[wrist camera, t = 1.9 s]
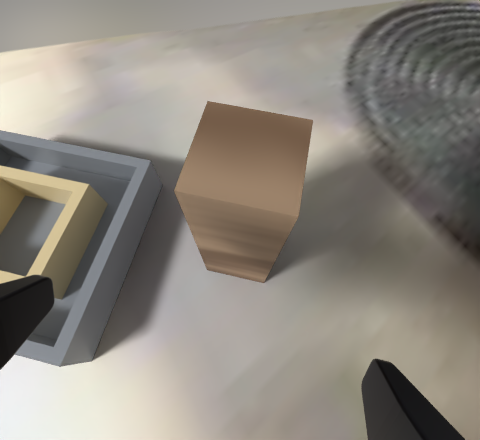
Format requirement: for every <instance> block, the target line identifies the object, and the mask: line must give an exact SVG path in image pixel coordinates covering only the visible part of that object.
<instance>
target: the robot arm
mask: <svg viewBox="0 0 480 440" xmlns="http://www.w3.org/2000/svg"><path fill="white" fill-rule="evenodd" d="M54 302H55V299H54V290H53V282H52V280H51V278H49V277H46V276H42V275H31V276H27V277H23V278H20V279H16V280H12V281H9V282H5V283H1V284H0V370H1V369H2V368H3V366H4V365H5V364H6V363H7V362H8V361H9V360H10V359H11V358H12V357H13V355H14V354H15V353H16V352H17V351H18V350H19V348H20V347H21V346H22V345H23V343H24V342H25V341H26V340H27V339H28V337H29V336H30V335H31V334H32V332H33V331H34V330H35V329H36V328H37V326H38V325H39V324H40V323H41V321H42V320H43V319H44V318H45V317H46V315H47V314H48V313H49V312H50V310H51V309H52V307H53V305H54ZM362 397H363V405H364V413H365V420H366V428H367V436H368V440H465V439H464V438H463V437H462V436H461V435H460V434H459V433H458V431H457V430H456V429H455V428H454V427H453V426H452V425H451V424H450V423H449V422H448V421H447V420H446V419H445V418H444V417H443V416H442V415H441V414H440V413H439V412H438V411H437V409H436V408H435V407H434V406H433V405H432V404H431V403H430V402H429V401H428V400H427V399H426V398H425V397H424V396H423V395H422V394H421V393H420V392H419V391H418V390H417V389H416V388H415V386H414V385H413V384H412V383H411V382H410V381H409V380H408V379H407V378H406V377H405V376H404V375H403V374H402V373H401V372H400V371H399V370H398V369H397V368H396V367H395V366H394V365H393V364H392V363H391V362H388V361H384V360H380V359H374V360H372V362H371V364H370V366H369V368H368V370H367V372H366V374H365V376H364V378H363V380H362Z"/></svg>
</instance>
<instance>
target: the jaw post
mask: <svg viewBox="0 0 480 440" xmlns="http://www.w3.org/2000/svg"><path fill="white" fill-rule="evenodd" d="M312 124H313V120H309V119H304V118H298V117H293V116H287V115H282V114H276V113H271V112H265V111H260V110H254V109H248V108H243V107H237V106H232V105H226V104H221V103H215V102H210V101H208V102H207V104H206V107H205V110H204V112H203V115H202V118H201V120H200V123H199V126H198V128H197V131H196V134H195V136H194V139H193V142H192V144H191V147H190V150H189V152H188V155H187V157H186V160H185V163H184V165H183V168H182V171H181V173H180V176H179V179H178V181H177V184H176V187H175V189H174V192H175V194H176V197H177V199H178V202H179V204H180V206H181V209H182V211H183V213H184V216H185V218H186V221H187V223H188V225H189V228H190V230H191V232H192V235H193V237H194V240H195V242H196V244H197V247H198V249H199V251H200V254H201V256H202V259H203V261H204V263H205V266H206V268H207V270H210V271H214V272H218V273H223V274H227V275H232V276H236V277H240V278H245V279H249V280H253V281H258V282H262V283H264V282H265V280H266V278H267V276H268V274H269V272H270V270H271V268H272V266H273V265H274V263H275V261H276V259H277V257H278V255H279V253H280V251H281V249H282V247H283V245H284V244H285V242H286V240H287V238H288V236H289V234H290V232H291V230H292V228H293V226H294V225H295V223H296V221H297V219H298V217H299V211H300V204H301V197H302V191H303V184H304V177H305V171H306V164H307V157H308V151H309V144H310V137H311V131H312Z"/></svg>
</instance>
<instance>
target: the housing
mask: <svg viewBox="0 0 480 440" xmlns="http://www.w3.org/2000/svg"><path fill="white" fill-rule="evenodd" d="M161 187H162V183H161V181H160V179H159V177H158V174H157V172H156V170H155V168H154V166H153V164H152V162H151V160H146V159H141V158H136V157H131V156H126V155H121V154H116V153H111V152H106V151H101V150H96V149H91V148H86V147H81V146H76V145H71V144H66V143H61V142H56V141H51V140H46V139H41V138H36V137H31V136H26V135H21V134H16V133H11V132H6V131H1V130H0V284H1V283H5V282H9V281H12V280H16V279H20V278H23V277H27V276H31V275H42V276H46V277H49V278H51V280H52V282H53V290H54V299H55V302H54V305H53V307H52V309H51V310H50V312H49V313H48V314H47V315H46V317H45V318H44V319H43V320H42V321H41V323H40V324H39V325H38V326H37V328H36V329H35V330H34V331H33V332H32V334H31V335H30V336H29V337H28V339H27V340H26V341H25V342H24V343H23V345H22V346H21V347H20V348H19V350H18V351H17V352H16V353H15V355H19V356H23V357H26V358H30V359H34V360H37V361H41V362H45V363H49V364H52V365H56V366H66V365H72V364H78V363H84V362H90V361H92V359H93V357H94V354H95V352H96V349H97V347H98V344H99V342H100V340H101V337H102V335H103V332H104V330H105V327H106V325H107V322H108V320H109V317H110V315H111V312H112V310H113V307H114V305H115V302H116V300H117V297H118V295H119V292H120V290H121V287H122V285H123V282H124V280H125V277H126V275H127V272H128V270H129V267H130V265H131V262H132V260H133V257H134V255H135V252H136V250H137V247H138V245H139V242H140V240H141V237H142V235H143V232H144V230H145V227H146V225H147V222H148V220H149V217H150V215H151V212H152V210H153V207H154V205H155V202H156V200H157V197H158V195H159V192H160V190H161Z"/></svg>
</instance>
